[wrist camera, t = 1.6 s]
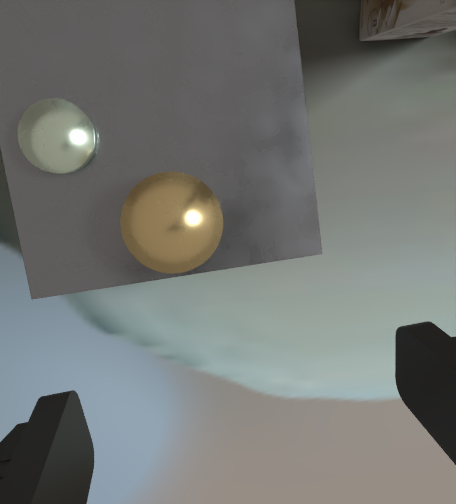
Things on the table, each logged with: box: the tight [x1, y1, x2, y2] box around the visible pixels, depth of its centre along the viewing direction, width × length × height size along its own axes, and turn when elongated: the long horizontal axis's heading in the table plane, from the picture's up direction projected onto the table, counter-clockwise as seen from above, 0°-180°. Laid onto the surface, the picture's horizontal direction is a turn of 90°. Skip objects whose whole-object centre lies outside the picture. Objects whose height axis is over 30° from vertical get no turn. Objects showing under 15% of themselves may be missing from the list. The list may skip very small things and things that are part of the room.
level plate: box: [0, 0, 322, 299], centre depth 21 cm, size 22×16×4 cm
